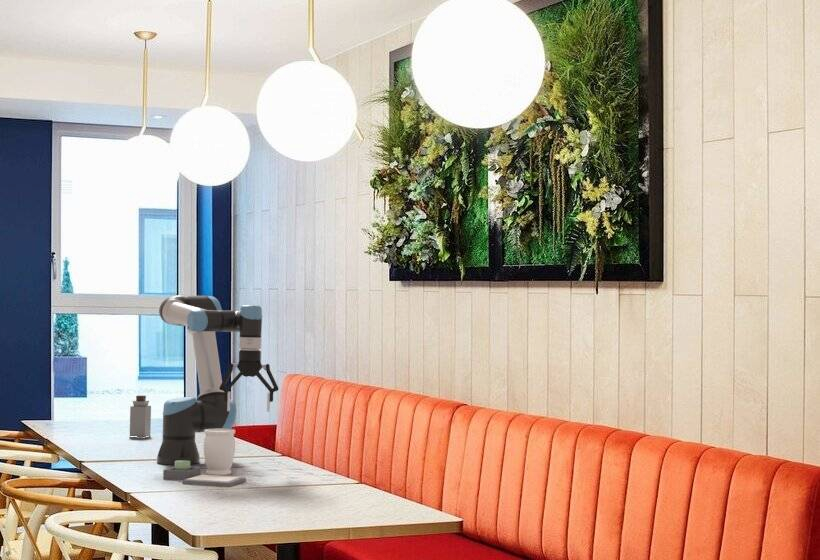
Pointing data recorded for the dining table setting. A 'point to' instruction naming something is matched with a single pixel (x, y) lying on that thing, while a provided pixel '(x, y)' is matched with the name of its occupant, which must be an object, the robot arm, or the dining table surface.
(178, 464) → the button
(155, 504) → the dining table surface
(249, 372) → the robot arm
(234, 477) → the board
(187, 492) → the dining table surface
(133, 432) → the perfume bottle
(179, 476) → the button housing
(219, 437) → the jar
